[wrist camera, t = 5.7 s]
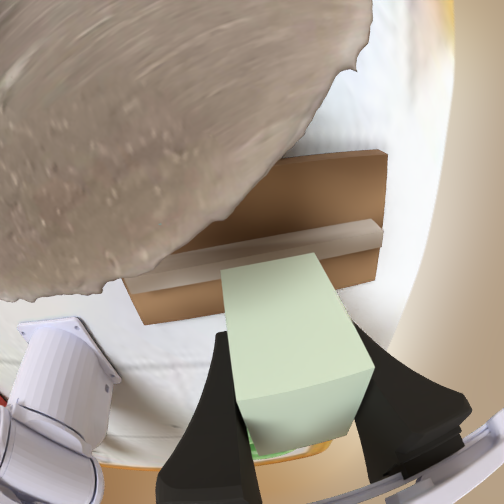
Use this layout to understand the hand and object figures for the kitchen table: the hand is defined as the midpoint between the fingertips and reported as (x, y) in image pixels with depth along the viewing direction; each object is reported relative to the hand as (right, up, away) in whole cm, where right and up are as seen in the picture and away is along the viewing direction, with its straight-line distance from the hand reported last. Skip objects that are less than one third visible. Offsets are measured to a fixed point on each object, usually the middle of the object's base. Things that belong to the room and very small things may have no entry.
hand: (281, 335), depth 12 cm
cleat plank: (-1, +5, +7) cm, 8 cm away
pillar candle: (-7, +14, 0) cm, 16 cm away
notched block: (0, +1, +2) cm, 2 cm away
